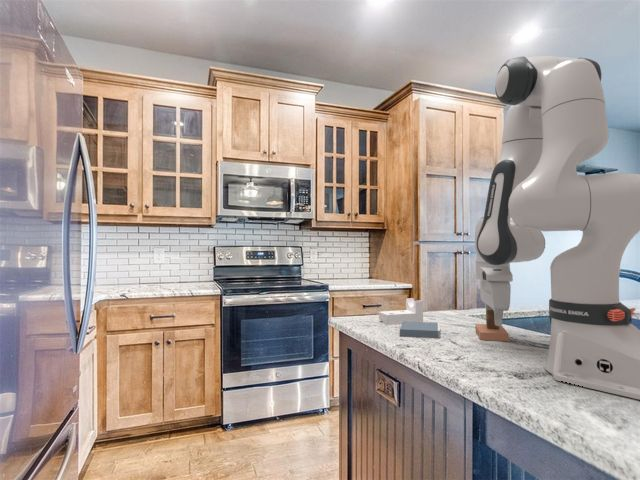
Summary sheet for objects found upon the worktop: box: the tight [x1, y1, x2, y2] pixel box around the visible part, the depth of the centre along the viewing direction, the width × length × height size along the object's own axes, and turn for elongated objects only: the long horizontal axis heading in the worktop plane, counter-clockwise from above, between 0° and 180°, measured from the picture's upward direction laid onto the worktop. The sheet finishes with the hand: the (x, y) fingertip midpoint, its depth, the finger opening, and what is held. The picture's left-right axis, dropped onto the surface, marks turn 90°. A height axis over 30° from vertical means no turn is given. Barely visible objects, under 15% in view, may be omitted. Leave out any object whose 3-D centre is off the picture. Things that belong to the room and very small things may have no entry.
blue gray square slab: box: [399, 321, 441, 339], centre depth 112 cm, size 11×12×2 cm
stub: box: [475, 309, 510, 342], centre depth 107 cm, size 7×12×7 cm, turn 163°
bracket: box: [378, 297, 424, 326], centre depth 130 cm, size 13×7×8 cm, turn 104°
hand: (494, 322), depth 107 cm, fingers open, 8 cm apart
